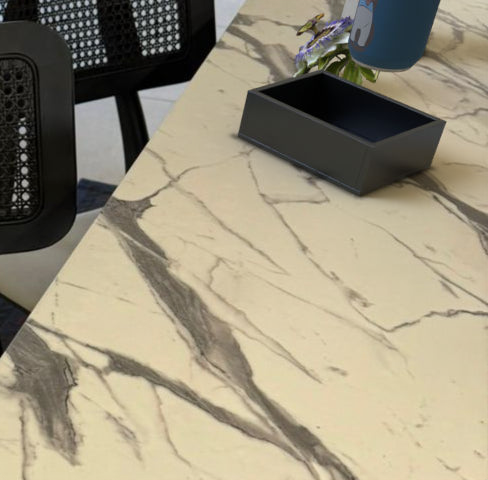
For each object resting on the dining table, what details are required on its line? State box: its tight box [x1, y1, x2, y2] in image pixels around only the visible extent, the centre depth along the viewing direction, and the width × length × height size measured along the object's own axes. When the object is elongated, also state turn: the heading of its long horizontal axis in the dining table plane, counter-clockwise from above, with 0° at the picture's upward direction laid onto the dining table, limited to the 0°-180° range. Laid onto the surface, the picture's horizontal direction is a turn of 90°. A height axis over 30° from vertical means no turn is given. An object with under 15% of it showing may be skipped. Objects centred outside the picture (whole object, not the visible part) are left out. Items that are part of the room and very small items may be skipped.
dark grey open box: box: [237, 69, 447, 198], centre depth 117 cm, size 18×14×6 cm
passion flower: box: [292, 12, 381, 86], centre depth 132 cm, size 11×11×12 cm
